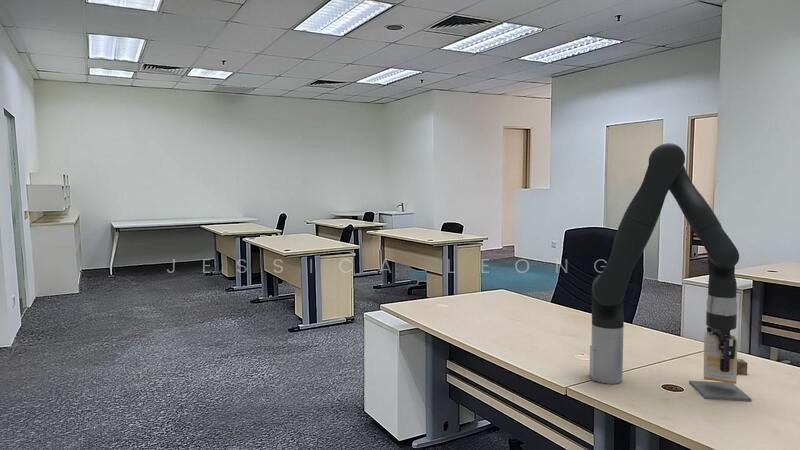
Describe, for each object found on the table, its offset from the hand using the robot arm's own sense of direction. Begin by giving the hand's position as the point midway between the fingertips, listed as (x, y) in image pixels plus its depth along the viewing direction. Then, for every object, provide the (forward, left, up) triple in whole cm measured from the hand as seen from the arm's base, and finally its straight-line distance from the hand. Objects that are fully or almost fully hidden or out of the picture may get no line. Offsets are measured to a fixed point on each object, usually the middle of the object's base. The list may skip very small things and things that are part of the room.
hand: (719, 367), depth 152 cm
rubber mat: (0, 0, -7) cm, 7 cm away
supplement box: (0, 0, -4) cm, 4 cm away
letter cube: (+12, +18, -7) cm, 23 cm away
